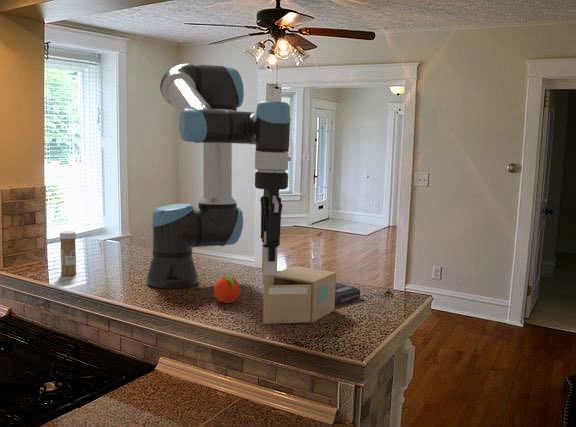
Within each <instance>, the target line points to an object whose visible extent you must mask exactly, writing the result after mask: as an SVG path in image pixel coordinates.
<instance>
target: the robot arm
mask: <svg viewBox="0 0 576 427" xmlns="http://www.w3.org/2000/svg"><path fill="white" fill-rule="evenodd" d="M159 90H160V93H161V96H162V98H163V99H164V100H165V102H166V103H167V104H168V105H170V106H172V107H173V108H174V109H175V110H176V113H177V114H178V116H179V121H178V131H179V137H180V138H181V140H183V141H184V142H189V143H190V142H191V143H195V144H200V143H202V145H203V146H202V148H203V149H202V150H203V151H202V154H203V155H202V156H203V157H202V158H203V159H202V160H203V162H202V164H203V165H202V166H203V182H202V184H203V186H202V188H203V196H202V198H200V199H199V201H198V208H194V207H193V204H192V203H174V204H168V205H163V206H159V207H157V208H156V209H154V211H153V213H152V221H151V222H152V223H151V228H152V236H151V237H152V238H151V239H152V257H151V262H150V264H149V268H148V272H147V273H146V285H148V286H150V287H153V288H158V289H182V288H189V287H193V286H195V285H196V284H198V283H199V274H198V272H197V269H196V265H195V262H194V259H193V248H201V247H202V248H203V247H217V246H218V247H219V246H220V247H226V246H232V245H235V244H237V242H238V241H239V240H240V238H241V236H242V233H243V229H244V227H243V226H244V215H243V211H242V209H241V208H240V207H239V206H238V204H237V201H236V200H235V199H234V198H233V194H232V191H233V190H232V189H233V188H232V185H233V184H232V182H233V181H232V180H233V176H232V174H233V173H232V172H233V171H232V168H233V166H232V164H233V163H232V162H233V160H232V159H233V158H232V157H233V156H232V155H233V152H232V151H233V149H232V148H233V147H232V146H233V144H241V145H242V144H243V145H255V152H254V153H255V154H254V160H255V161H254V168H255V170H257V171H256V172H255V173H254V187H255V189H259V190H263V195H262V196H261V197H260V198H259V199H260V200H259V201H260V239H261V242H262V246H261V251H262V252H261V272H262V273H263V256H264V247H265V262H264V275H276V273H277V272H278V271H277V265H278V263H277V262H278V247H279V246H280V244H281V242H280V241H281V226H282V225H281V223H282V210H283V206H284V205H283V203H282V197H280V190H282V191H283V190H287V189H288V188H289V174H288V172H286V171H288V170H289V162H291V160H292V157H291V156H290V153H289V152H290V151H289V150H290V137H291V136H290V132H291V120H292V118H291V106H290V105H289V103H288V102H286V101H277V100H276V101H275V100H263V101H259V102H258V103H257V104H256V110H255V111H240V110H239V111H237V110H238V108H240V107H242V105H243V103H244V97H245V96H244V95H245V89H244V83H243V79H242V76H241V74H240V72H239V71H238V70H237V68H235V67H229V66H224V65H212V64H211V65H209V64H195V63H182V64H181V63H180V64H178V65H175V66H173V67H171V68H170V69H168V70H167V71H165V73H164V74H163V75H162V78H161V79H160V84H159ZM265 231H266V245H264V232H265Z"/></svg>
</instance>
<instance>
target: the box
mask: <svg viewBox="0 0 576 427" xmlns="http://www.w3.org/2000/svg"><path fill="white" fill-rule="evenodd" d="M359 298H361V289H360V288H356V287H354V286H350V285H346V284H343V283H338V282H336V283H335V307H336V306H340V305H342V304H346V303H349V302H352V300H353V301H355V299H356V300H359Z"/></svg>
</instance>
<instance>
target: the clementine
mask: <svg viewBox="0 0 576 427" xmlns="http://www.w3.org/2000/svg"><path fill="white" fill-rule="evenodd" d="M240 287H241V286H240V284H239V281H237V280H236V279H235V278H234V277H233V276H232V277H231V276H228V275H227V276H223V277H221V278H220V279H218V280H217V281H216V282H215V284H214V287H213V294H214V297H215V298H216V299H217V300H218V301H219V302H221V303H224V304H230V303H233V302H235V301H236V300H237V299H238V298H239V295H240V293H241V288H240Z"/></svg>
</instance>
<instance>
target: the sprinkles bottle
mask: <svg viewBox="0 0 576 427" xmlns="http://www.w3.org/2000/svg"><path fill="white" fill-rule="evenodd" d="M76 238H77V234H76V231H72V230H71V231H70V230H67V231H60V232H59V240H60V268H61V269H60V270H61V272H60V275H61V276H63V277H65V276H66V277H70V276H75V275H76V274H77V254H76Z"/></svg>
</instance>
